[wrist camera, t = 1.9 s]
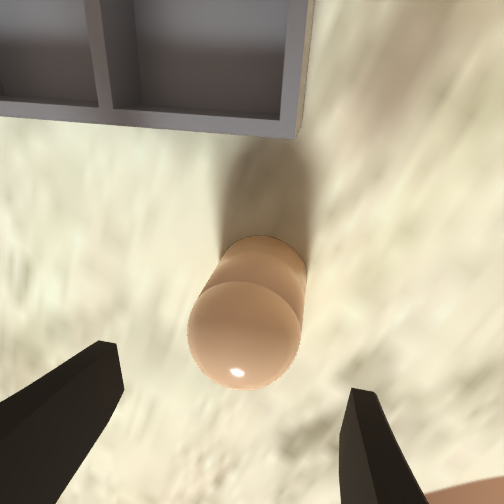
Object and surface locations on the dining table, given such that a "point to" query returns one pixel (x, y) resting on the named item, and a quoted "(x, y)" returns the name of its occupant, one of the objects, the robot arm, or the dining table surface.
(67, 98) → the egg holder
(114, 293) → the dining table surface
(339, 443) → the robot arm
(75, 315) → the dining table surface
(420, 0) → the dining table surface
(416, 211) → the dining table surface
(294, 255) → the egg
